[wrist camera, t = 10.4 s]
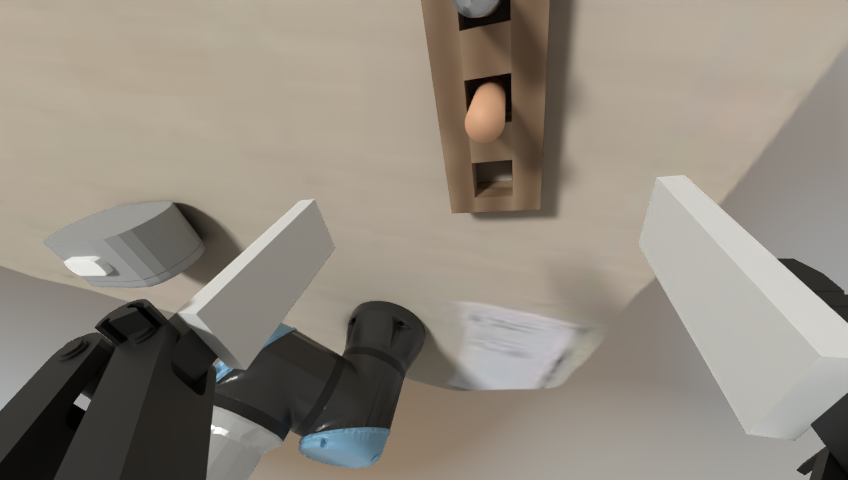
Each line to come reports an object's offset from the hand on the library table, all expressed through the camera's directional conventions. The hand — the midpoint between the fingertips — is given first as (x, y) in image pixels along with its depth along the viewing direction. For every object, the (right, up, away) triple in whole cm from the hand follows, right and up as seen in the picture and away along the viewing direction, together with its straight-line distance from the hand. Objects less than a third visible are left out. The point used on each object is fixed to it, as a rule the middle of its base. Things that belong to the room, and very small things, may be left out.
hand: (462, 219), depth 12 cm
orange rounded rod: (+5, +14, +19) cm, 25 cm away
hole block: (+5, +15, +19) cm, 25 cm away
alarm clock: (-50, +2, +44) cm, 66 cm away
